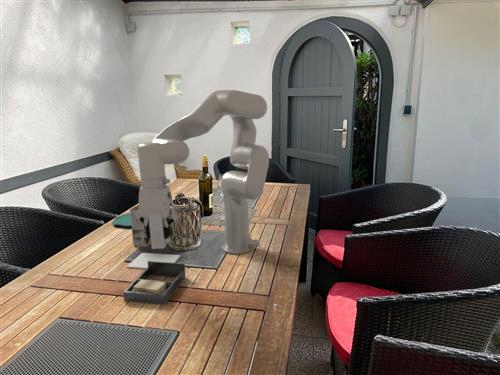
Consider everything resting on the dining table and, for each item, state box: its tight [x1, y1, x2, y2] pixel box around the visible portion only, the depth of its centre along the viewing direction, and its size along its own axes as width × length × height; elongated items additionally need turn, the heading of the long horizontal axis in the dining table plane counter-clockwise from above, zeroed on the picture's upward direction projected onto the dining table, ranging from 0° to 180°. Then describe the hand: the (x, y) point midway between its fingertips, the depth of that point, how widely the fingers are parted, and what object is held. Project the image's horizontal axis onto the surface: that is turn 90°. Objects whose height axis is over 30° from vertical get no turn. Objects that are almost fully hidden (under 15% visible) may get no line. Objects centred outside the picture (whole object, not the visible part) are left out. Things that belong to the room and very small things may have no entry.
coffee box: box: [129, 204, 151, 248], centre depth 154 cm, size 9×6×16 cm
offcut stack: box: [132, 279, 166, 294], centre depth 114 cm, size 10×5×4 cm, turn 76°
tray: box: [122, 261, 186, 306], centre depth 118 cm, size 13×17×5 cm
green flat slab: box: [111, 212, 132, 228], centre depth 181 cm, size 20×30×2 cm, turn 82°
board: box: [126, 252, 181, 270], centre depth 137 cm, size 16×12×1 cm
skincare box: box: [148, 212, 168, 250], centre depth 118 cm, size 6×4×12 cm
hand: (158, 236), depth 119 cm, fingers closed on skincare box, 5 cm apart
